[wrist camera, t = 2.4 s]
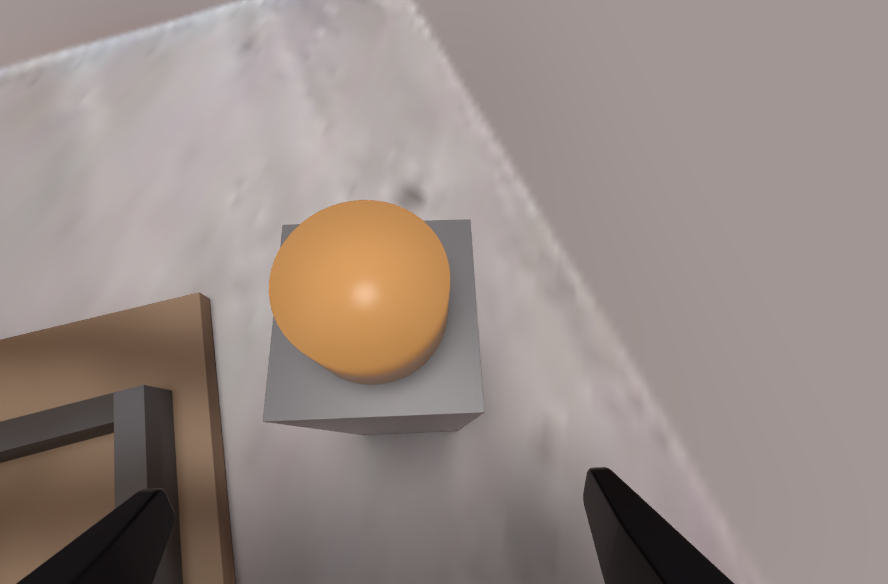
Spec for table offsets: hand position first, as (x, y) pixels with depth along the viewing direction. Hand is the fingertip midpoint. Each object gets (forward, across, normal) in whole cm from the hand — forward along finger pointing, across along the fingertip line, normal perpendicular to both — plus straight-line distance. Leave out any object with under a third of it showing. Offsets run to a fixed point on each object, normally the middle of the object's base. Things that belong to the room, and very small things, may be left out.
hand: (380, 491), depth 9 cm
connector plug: (+10, 0, +5) cm, 12 cm away
